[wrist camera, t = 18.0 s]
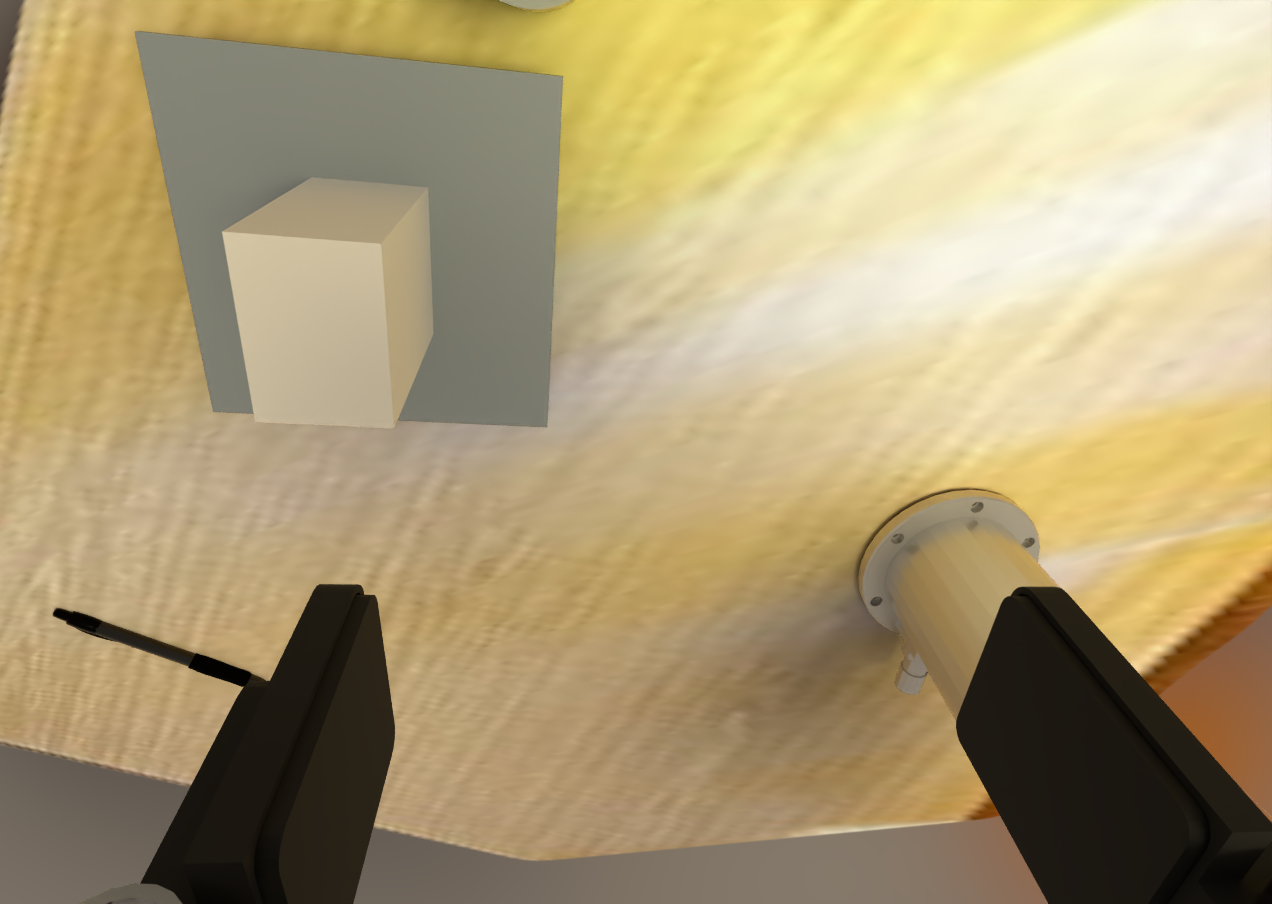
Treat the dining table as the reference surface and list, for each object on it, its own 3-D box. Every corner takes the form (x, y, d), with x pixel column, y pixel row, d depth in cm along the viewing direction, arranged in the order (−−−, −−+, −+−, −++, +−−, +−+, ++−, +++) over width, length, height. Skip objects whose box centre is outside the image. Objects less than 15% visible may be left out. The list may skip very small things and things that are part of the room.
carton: (428, 187, 33) (381, 244, 24) (433, 333, 37) (393, 428, 28) (312, 177, 32) (222, 231, 24) (328, 327, 36) (255, 422, 27)
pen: (58, 611, 49) (47, 626, 48) (60, 600, 48) (49, 615, 47) (267, 685, 53) (260, 700, 53) (273, 676, 52) (266, 691, 52)
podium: (548, 395, 43) (547, 427, 40) (242, 379, 41) (213, 411, 38) (562, 71, 35) (562, 76, 31) (179, 30, 33) (134, 31, 29)
